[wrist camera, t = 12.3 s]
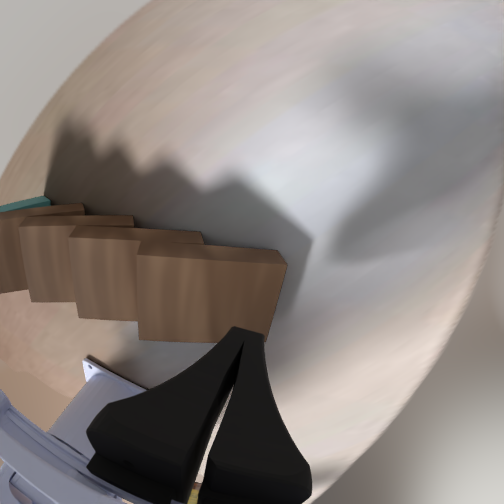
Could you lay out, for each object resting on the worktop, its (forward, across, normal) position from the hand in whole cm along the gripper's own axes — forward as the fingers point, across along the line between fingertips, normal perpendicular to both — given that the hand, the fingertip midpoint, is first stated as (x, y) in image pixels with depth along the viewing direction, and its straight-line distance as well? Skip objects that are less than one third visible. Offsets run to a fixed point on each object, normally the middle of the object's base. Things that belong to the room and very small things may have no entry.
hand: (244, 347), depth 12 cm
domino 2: (+4, +4, 0) cm, 6 cm away
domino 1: (+4, -1, 0) cm, 4 cm away
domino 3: (+4, +8, 0) cm, 9 cm away
